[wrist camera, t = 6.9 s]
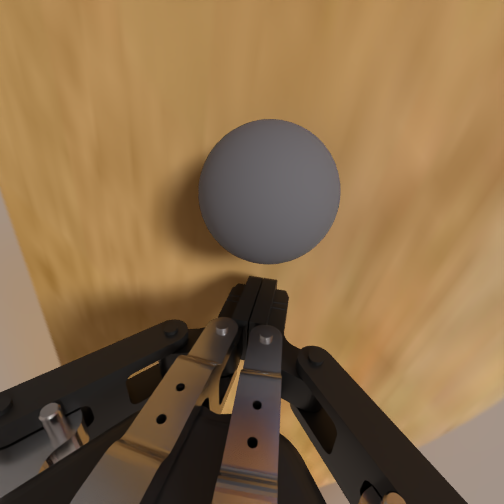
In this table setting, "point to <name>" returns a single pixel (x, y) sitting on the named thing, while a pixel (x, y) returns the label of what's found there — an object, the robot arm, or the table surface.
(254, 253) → the gray ball
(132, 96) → the table surface
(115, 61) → the table surface
